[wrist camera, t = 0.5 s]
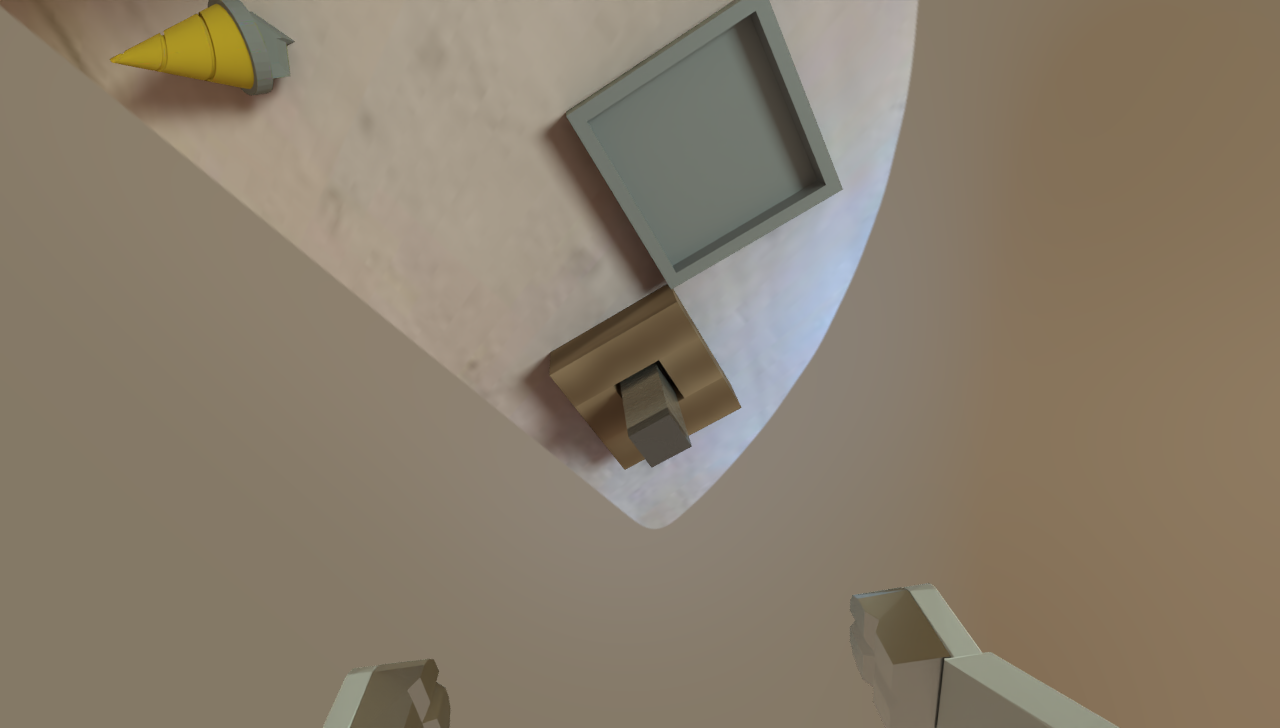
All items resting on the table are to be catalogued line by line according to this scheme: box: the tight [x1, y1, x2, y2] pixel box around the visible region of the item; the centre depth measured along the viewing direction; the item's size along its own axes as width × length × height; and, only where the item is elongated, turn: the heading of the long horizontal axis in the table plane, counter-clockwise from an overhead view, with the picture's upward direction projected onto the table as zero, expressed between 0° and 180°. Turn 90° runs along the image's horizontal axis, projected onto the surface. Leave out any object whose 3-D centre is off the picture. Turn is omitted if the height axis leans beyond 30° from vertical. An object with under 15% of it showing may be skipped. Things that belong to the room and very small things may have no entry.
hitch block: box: [549, 284, 741, 469], centre depth 51 cm, size 12×12×4 cm
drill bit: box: [110, 0, 295, 95], centre depth 35 cm, size 5×5×10 cm
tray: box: [566, 0, 843, 289], centre depth 43 cm, size 15×15×2 cm
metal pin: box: [620, 360, 692, 467], centre depth 48 cm, size 4×4×11 cm
